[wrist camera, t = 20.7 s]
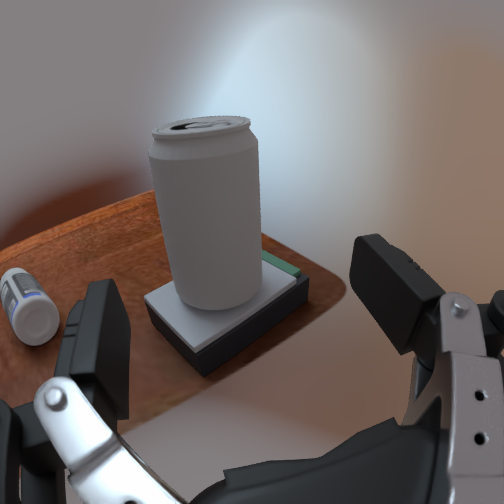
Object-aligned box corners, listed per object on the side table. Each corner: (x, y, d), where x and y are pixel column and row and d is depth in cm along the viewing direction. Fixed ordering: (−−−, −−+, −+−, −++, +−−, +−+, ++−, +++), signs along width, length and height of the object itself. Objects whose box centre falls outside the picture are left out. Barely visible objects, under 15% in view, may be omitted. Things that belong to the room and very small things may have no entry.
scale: (203, 377, 20) (195, 349, 18) (151, 323, 24) (142, 294, 22) (307, 300, 26) (310, 270, 24) (249, 266, 30) (247, 239, 29)
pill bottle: (69, 327, 23) (41, 290, 28) (45, 287, 21) (23, 255, 25) (31, 356, 20) (10, 313, 25) (3, 319, 18) (-11, 279, 22)
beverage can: (196, 259, 26) (176, 116, 20) (271, 267, 25) (267, 112, 18) (162, 309, 21) (122, 138, 14) (251, 325, 20) (238, 131, 13)
